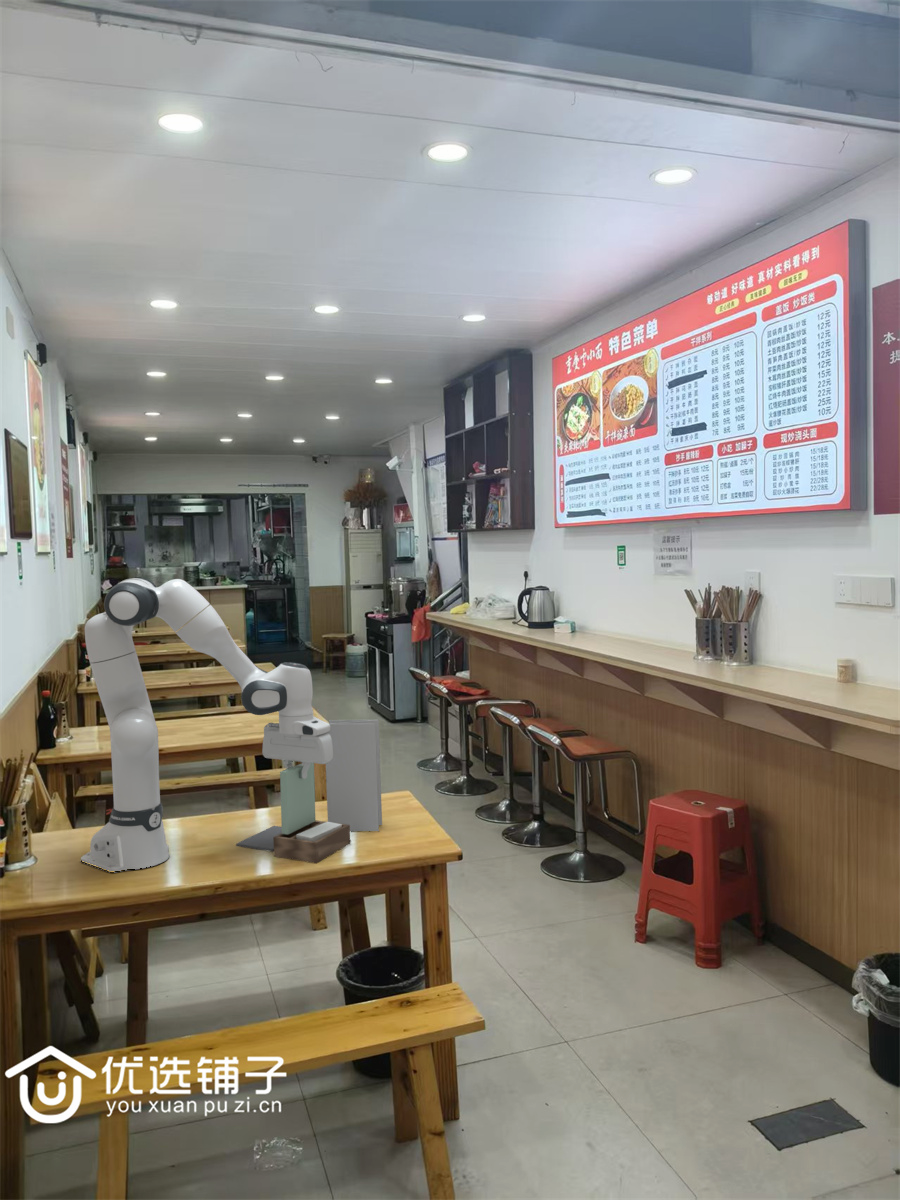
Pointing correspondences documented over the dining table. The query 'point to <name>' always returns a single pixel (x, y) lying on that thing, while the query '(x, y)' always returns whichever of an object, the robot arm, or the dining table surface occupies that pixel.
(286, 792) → the block
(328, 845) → the rack
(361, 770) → the brochure
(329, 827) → the offcut upper
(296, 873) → the dining table surface
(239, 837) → the dining table surface
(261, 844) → the mat
